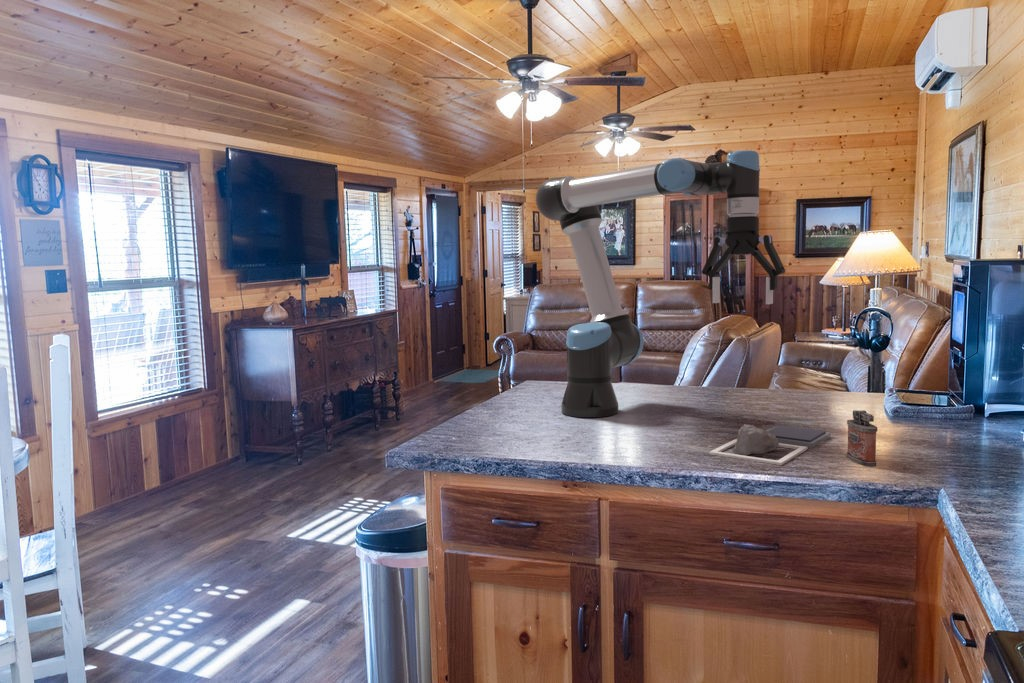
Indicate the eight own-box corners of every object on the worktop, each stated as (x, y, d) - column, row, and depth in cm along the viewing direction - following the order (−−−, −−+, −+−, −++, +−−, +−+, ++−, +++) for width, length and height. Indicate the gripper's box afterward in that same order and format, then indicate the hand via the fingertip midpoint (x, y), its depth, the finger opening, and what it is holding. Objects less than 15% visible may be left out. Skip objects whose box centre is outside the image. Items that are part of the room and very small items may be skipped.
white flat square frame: (709, 454, 158) (708, 451, 158) (738, 439, 169) (738, 437, 169) (781, 465, 148) (781, 462, 148) (807, 449, 160) (807, 446, 160)
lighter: (842, 456, 154) (843, 407, 153) (858, 455, 154) (859, 406, 153) (863, 467, 146) (865, 415, 145) (880, 466, 146) (882, 414, 145)
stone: (762, 460, 153) (762, 432, 152) (724, 454, 158) (724, 426, 157) (782, 450, 160) (782, 423, 159) (745, 445, 165) (746, 418, 165)
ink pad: (756, 440, 168) (756, 434, 168) (776, 430, 177) (777, 424, 177) (812, 448, 161) (812, 441, 160) (830, 436, 170) (830, 430, 170)
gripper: (688, 218, 191) (688, 303, 193) (788, 212, 175) (787, 305, 177) (702, 219, 196) (701, 301, 199) (800, 213, 181) (798, 303, 183)
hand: (742, 303), depth 188 cm, fingers open, 13 cm apart
